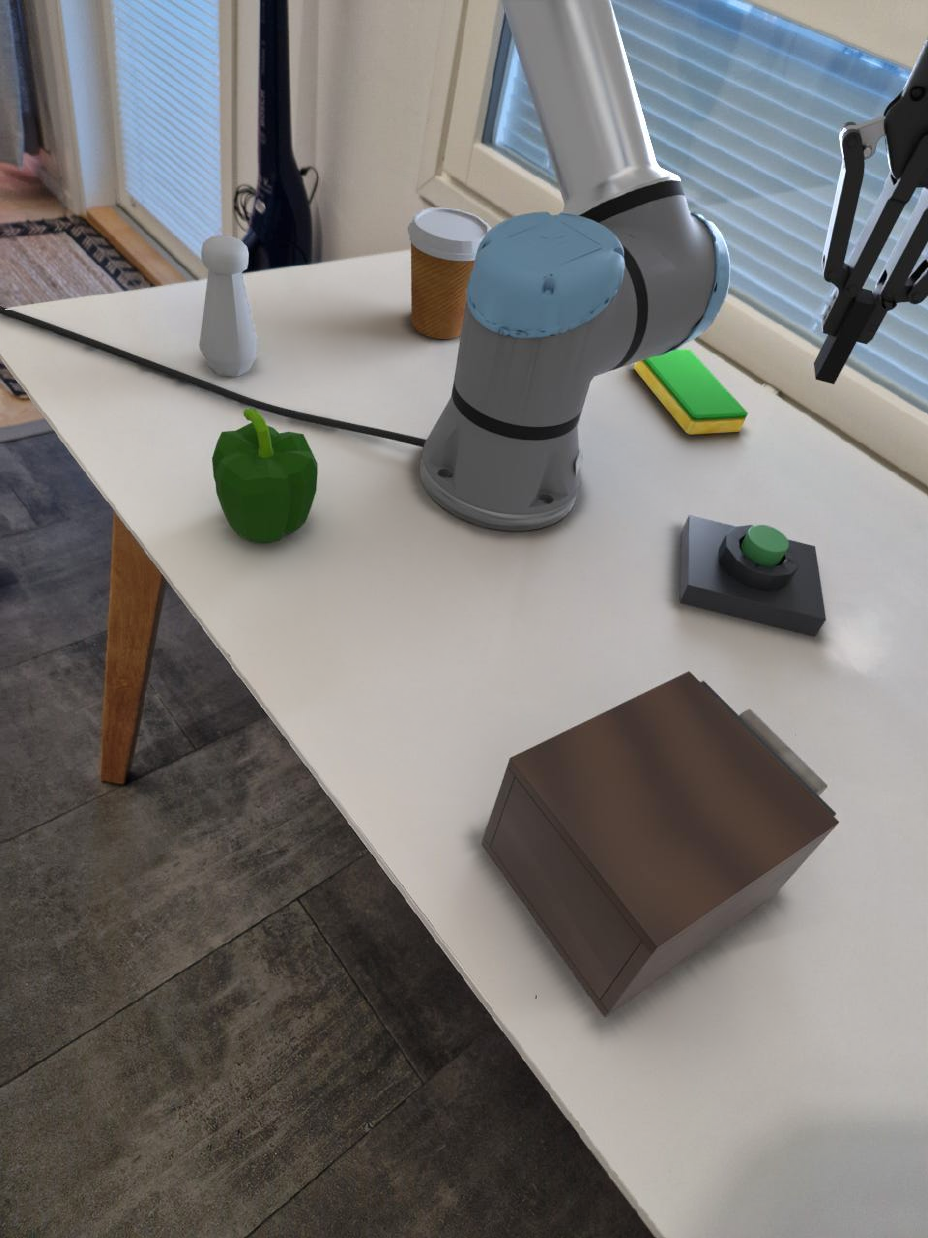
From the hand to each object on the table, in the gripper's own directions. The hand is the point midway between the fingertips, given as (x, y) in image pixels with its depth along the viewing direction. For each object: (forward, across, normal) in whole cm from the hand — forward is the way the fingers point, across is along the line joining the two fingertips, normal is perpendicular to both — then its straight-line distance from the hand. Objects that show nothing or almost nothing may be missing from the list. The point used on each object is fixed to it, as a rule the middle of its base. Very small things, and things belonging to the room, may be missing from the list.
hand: (823, 373), depth 69 cm
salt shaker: (+19, +54, -7) cm, 57 cm away
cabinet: (+18, +7, +37) cm, 42 cm away
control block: (+19, -1, +5) cm, 19 cm away
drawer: (+18, +4, +34) cm, 39 cm away
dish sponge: (+19, +6, -25) cm, 32 cm away
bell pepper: (+19, +41, +14) cm, 47 cm away
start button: (+15, -1, +5) cm, 16 cm away
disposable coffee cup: (+19, +36, -27) cm, 49 cm away
